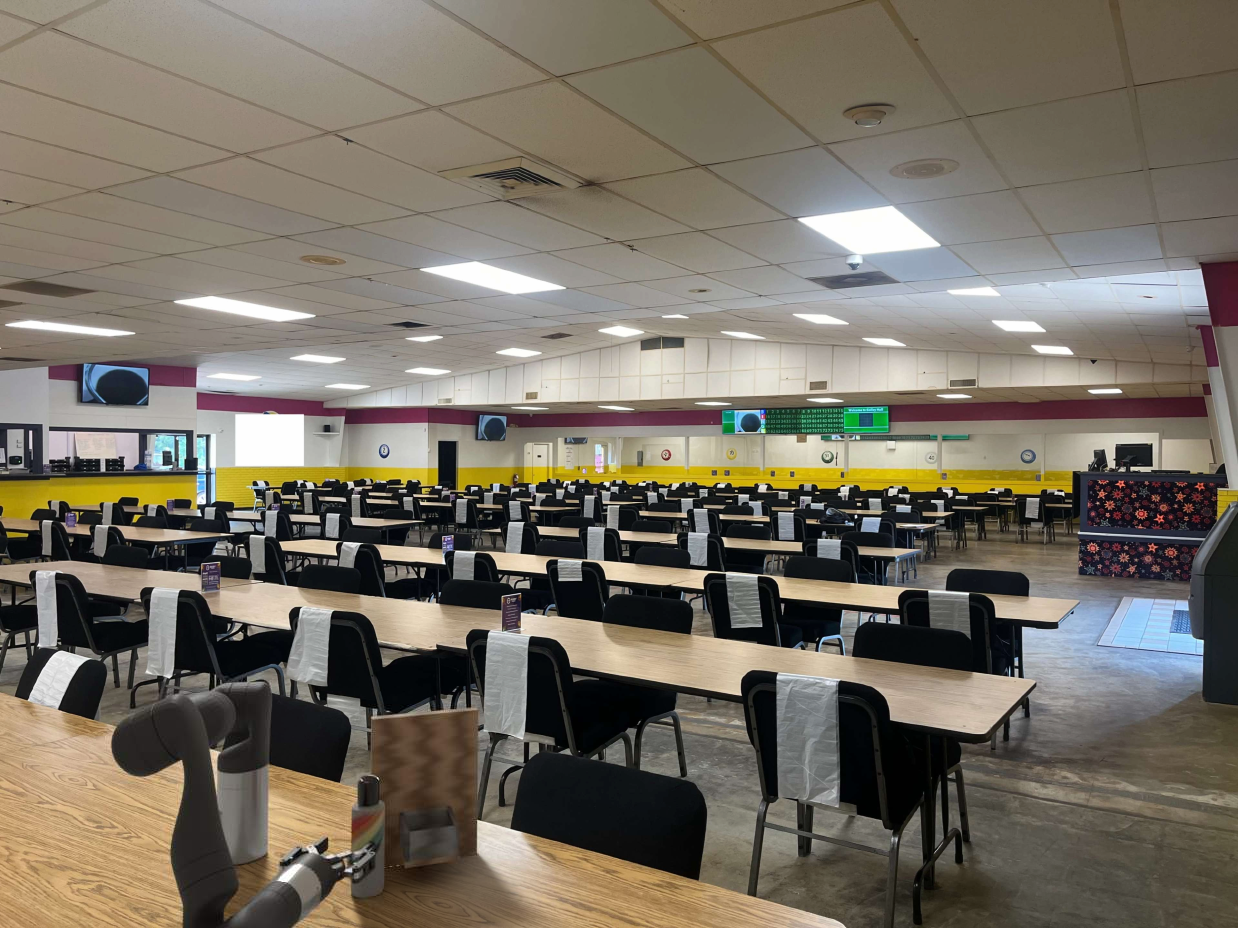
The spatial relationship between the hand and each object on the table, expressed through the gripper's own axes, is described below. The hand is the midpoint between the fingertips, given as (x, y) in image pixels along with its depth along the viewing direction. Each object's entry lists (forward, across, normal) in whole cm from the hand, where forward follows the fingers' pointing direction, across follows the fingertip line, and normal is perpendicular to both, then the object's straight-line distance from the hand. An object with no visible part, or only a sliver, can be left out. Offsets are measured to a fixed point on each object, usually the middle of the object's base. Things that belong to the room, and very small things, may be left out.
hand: (349, 844), depth 143 cm
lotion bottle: (+7, 0, +11) cm, 13 cm away
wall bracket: (+15, -8, +11) cm, 20 cm away
